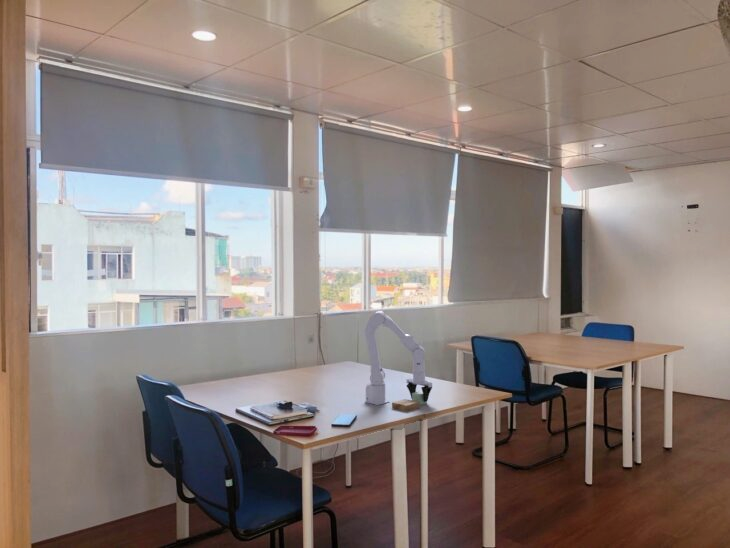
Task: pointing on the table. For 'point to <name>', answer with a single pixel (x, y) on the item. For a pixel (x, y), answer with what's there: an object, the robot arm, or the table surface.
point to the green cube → (418, 397)
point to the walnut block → (405, 405)
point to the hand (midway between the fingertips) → (419, 400)
